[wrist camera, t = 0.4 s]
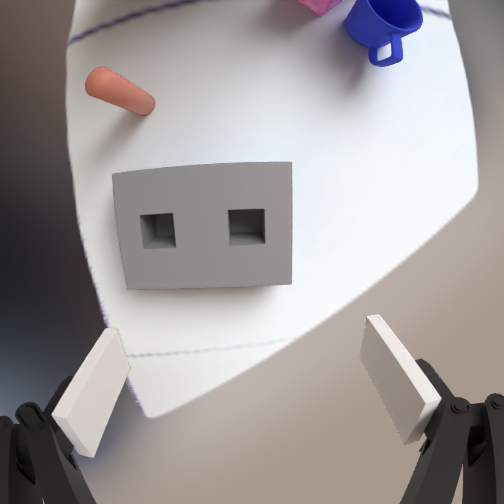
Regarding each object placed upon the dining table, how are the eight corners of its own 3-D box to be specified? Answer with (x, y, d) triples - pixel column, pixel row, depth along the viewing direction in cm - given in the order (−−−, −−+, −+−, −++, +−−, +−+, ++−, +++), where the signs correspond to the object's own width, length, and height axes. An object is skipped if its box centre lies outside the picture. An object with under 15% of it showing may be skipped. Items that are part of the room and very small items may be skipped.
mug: (341, 71, 33) (369, 48, 24) (337, 4, 29) (360, -28, 20) (393, 82, 33) (430, 67, 24) (387, 17, 30) (418, -8, 20)
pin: (134, 96, 33) (86, 71, 20) (155, 92, 33) (113, 63, 20) (134, 116, 34) (84, 99, 21) (155, 113, 34) (112, 93, 21)
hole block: (143, 269, 41) (127, 289, 34) (132, 171, 36) (111, 174, 30) (283, 264, 41) (291, 284, 34) (282, 161, 37) (291, 161, 30)
